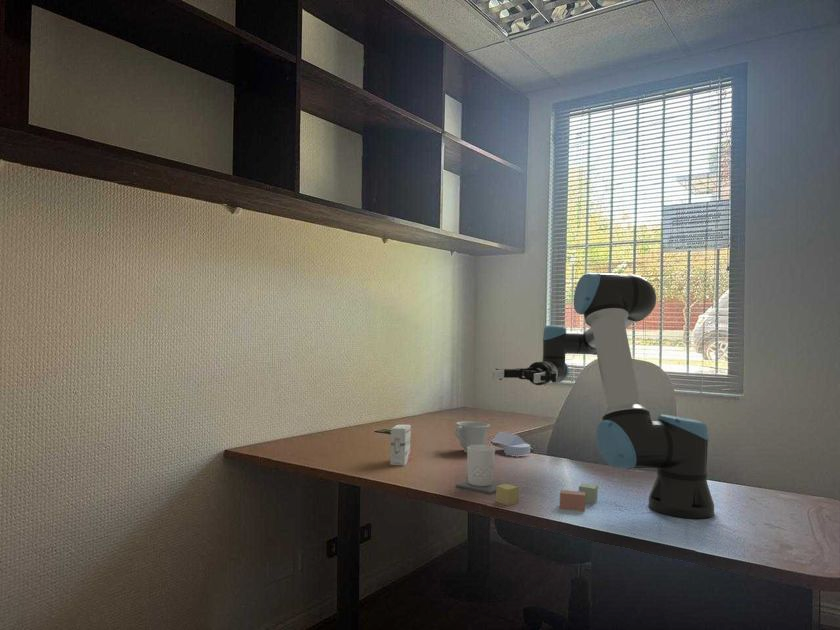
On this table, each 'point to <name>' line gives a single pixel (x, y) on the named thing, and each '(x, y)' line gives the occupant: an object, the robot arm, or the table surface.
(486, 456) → the white cup
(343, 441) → the table surface
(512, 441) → the wedge on round base
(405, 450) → the ink box
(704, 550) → the table surface
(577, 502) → the brick-red long block
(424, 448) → the table surface
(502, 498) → the mustard block
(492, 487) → the slate coaster
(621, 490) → the table surface
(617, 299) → the robot arm
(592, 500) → the sage block
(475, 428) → the teacup
